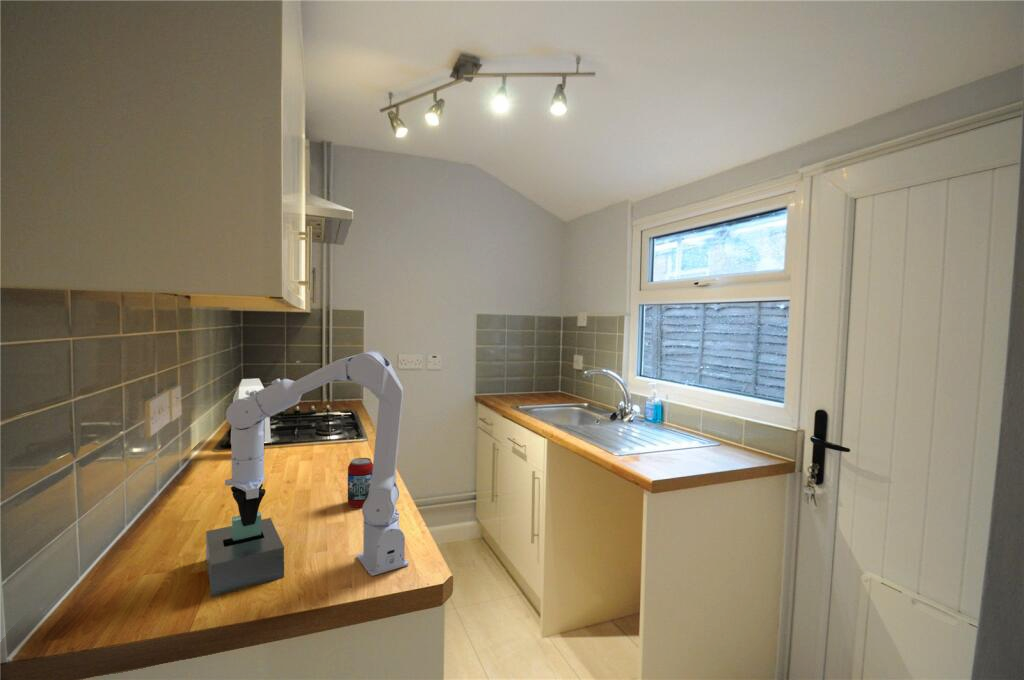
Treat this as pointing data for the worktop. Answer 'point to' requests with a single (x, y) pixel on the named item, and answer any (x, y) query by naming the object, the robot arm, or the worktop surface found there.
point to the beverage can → (359, 481)
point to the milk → (244, 390)
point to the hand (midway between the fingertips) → (248, 522)
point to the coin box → (243, 558)
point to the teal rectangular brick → (245, 528)
